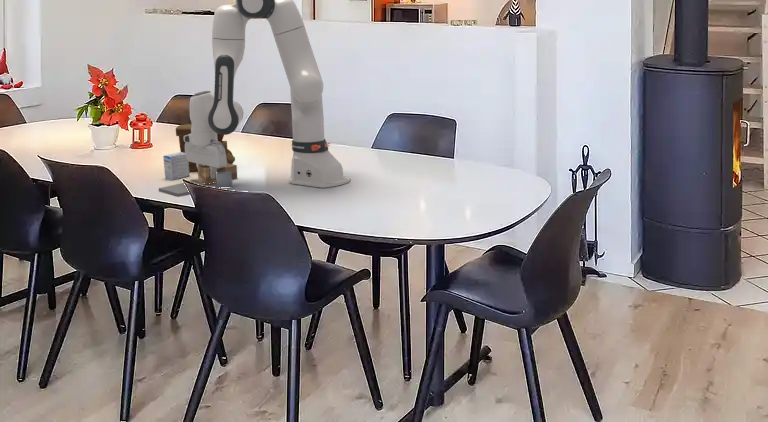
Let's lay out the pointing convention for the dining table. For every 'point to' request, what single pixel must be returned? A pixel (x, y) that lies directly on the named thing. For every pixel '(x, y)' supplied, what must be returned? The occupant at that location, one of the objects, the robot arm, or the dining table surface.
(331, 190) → the dining table surface
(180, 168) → the medicine box
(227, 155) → the wooden toy train
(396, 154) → the dining table surface
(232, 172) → the walnut cube
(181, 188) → the charcoal mat
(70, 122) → the dining table surface
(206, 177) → the oak block
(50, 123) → the dining table surface
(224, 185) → the blue-grey cube
